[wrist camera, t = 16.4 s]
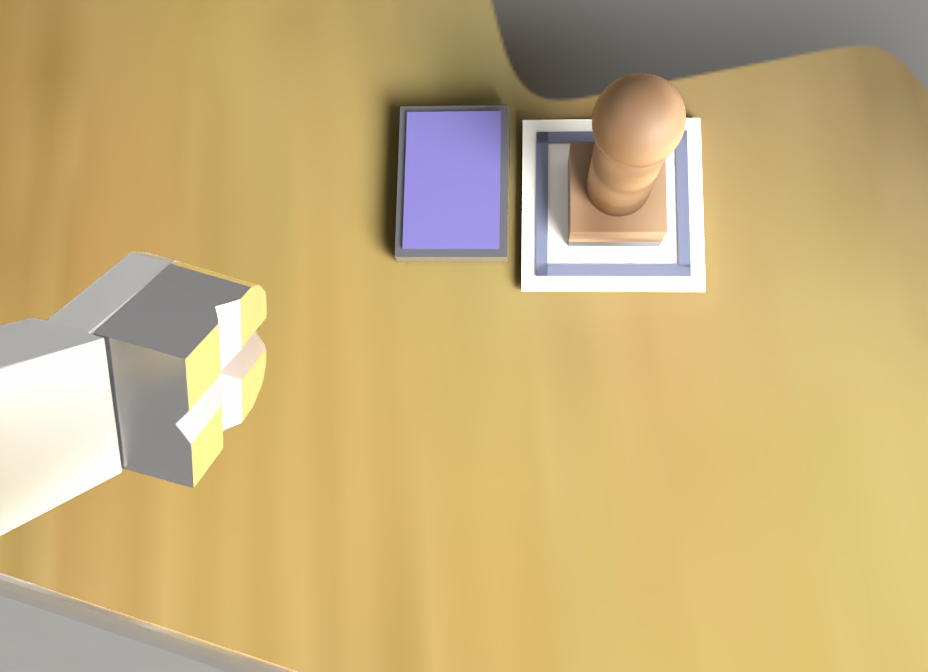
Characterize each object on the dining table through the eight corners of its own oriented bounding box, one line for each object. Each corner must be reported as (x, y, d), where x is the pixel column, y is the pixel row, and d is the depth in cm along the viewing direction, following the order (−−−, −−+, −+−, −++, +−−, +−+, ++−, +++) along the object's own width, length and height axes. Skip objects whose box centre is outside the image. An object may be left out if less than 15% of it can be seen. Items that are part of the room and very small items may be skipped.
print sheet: (699, 120, 43) (700, 117, 42) (704, 291, 41) (706, 290, 41) (522, 122, 43) (522, 119, 43) (521, 291, 42) (521, 289, 41)
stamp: (657, 160, 42) (705, 42, 31) (659, 246, 41) (709, 157, 30) (568, 161, 42) (582, 45, 31) (568, 246, 42) (583, 158, 30)
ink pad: (509, 113, 43) (508, 103, 42) (507, 262, 42) (507, 255, 41) (403, 114, 44) (399, 104, 43) (397, 262, 42) (393, 255, 41)
